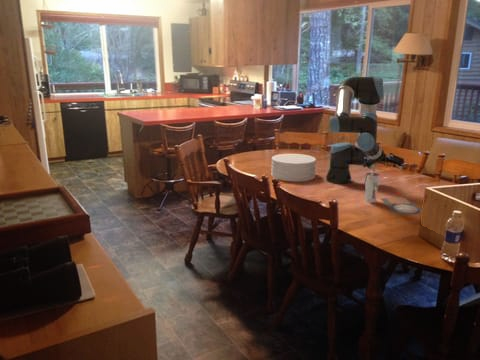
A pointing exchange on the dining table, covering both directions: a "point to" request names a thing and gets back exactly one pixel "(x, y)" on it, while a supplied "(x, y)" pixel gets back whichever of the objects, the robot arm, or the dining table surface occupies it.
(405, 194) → the dining table surface
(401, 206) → the round coaster
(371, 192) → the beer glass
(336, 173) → the robot arm
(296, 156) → the plate stack
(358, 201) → the dining table surface
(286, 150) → the dining table surface
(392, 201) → the square tile
